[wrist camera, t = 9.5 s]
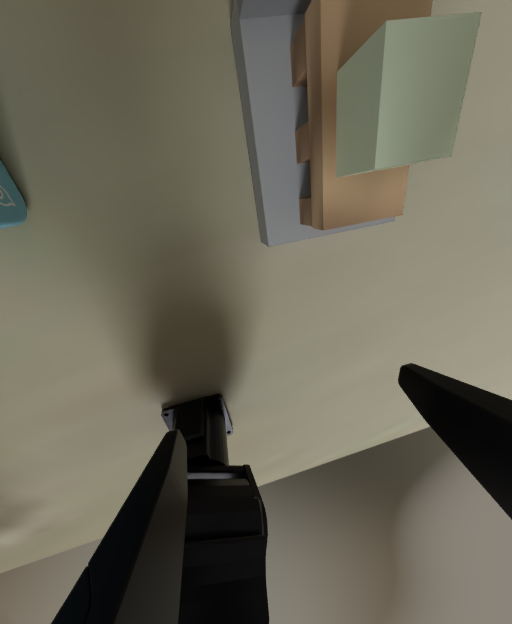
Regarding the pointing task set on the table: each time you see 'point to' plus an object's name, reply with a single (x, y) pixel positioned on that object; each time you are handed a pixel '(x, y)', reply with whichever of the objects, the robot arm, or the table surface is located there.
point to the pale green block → (404, 93)
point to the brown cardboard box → (323, 108)
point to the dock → (275, 116)
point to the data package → (10, 201)
